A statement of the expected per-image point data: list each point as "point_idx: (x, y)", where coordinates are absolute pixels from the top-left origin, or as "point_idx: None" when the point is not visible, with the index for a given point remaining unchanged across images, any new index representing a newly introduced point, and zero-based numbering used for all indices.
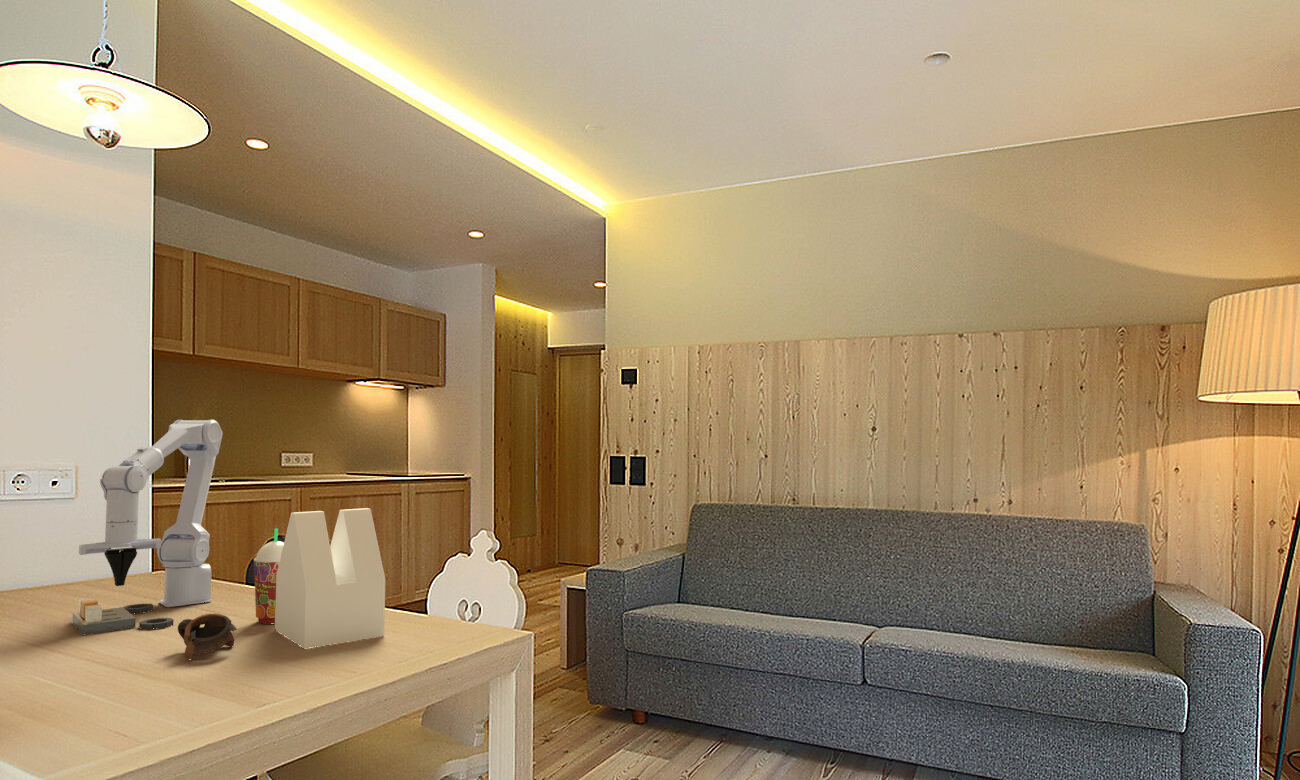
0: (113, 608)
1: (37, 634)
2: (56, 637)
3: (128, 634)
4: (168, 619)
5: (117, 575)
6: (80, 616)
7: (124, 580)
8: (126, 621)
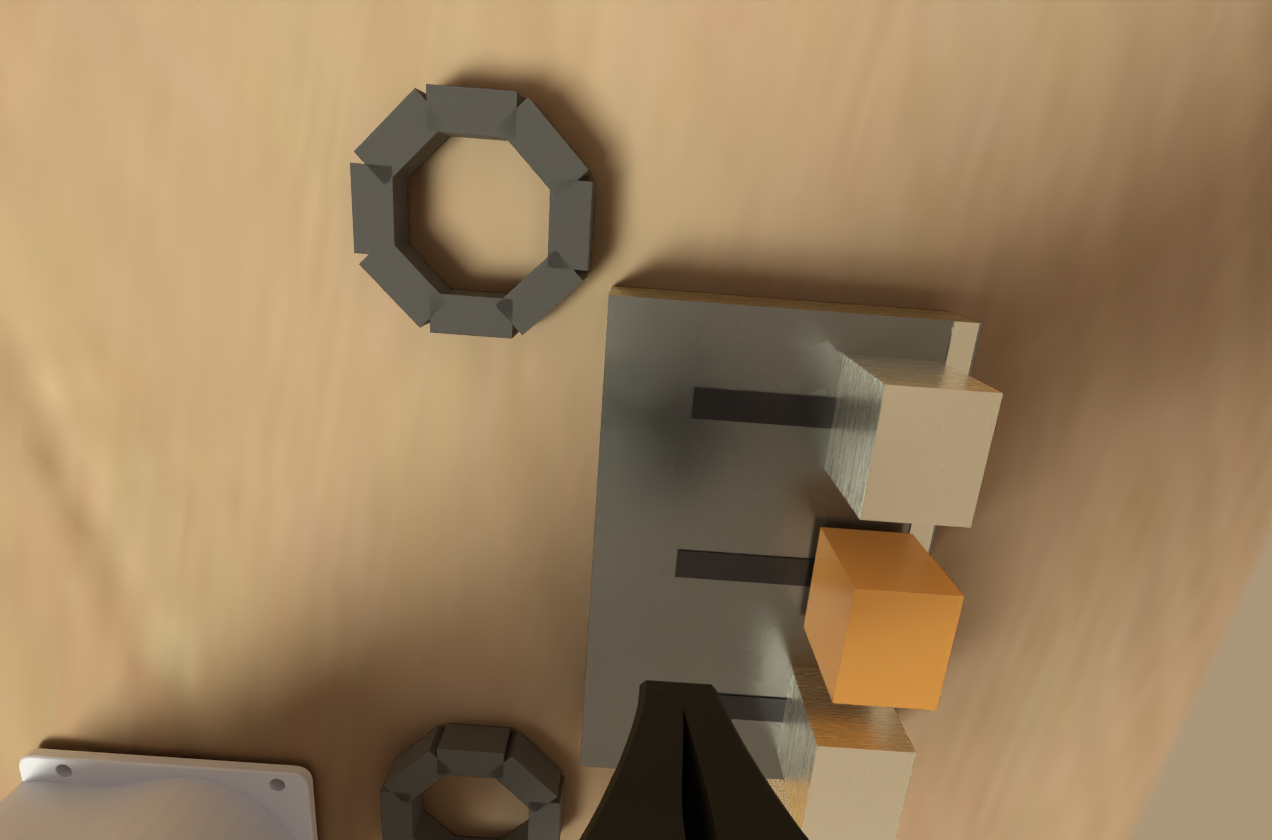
0: None
1: (1115, 557)
2: (1081, 374)
3: (712, 70)
4: (383, 202)
5: (735, 765)
6: None
7: (645, 705)
8: (675, 298)
